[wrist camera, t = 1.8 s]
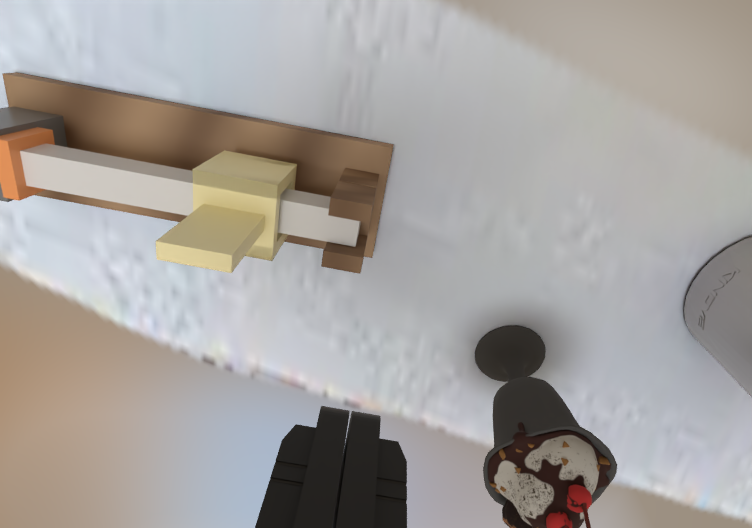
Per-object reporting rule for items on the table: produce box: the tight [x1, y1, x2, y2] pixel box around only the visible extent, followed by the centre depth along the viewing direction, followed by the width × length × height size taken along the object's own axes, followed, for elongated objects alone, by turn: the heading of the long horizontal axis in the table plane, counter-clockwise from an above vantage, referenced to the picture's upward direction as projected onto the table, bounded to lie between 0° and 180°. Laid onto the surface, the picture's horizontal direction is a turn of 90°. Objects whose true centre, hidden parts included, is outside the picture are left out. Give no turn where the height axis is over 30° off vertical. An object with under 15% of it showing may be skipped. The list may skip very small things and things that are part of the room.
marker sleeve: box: [156, 150, 297, 273], centre depth 21 cm, size 4×4×8 cm
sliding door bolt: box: [0, 107, 361, 247], centre depth 24 cm, size 21×4×5 cm, turn 80°
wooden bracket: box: [3, 73, 393, 273], centre depth 24 cm, size 22×7×6 cm, turn 80°
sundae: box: [475, 326, 617, 528], centre depth 25 cm, size 7×7×15 cm
